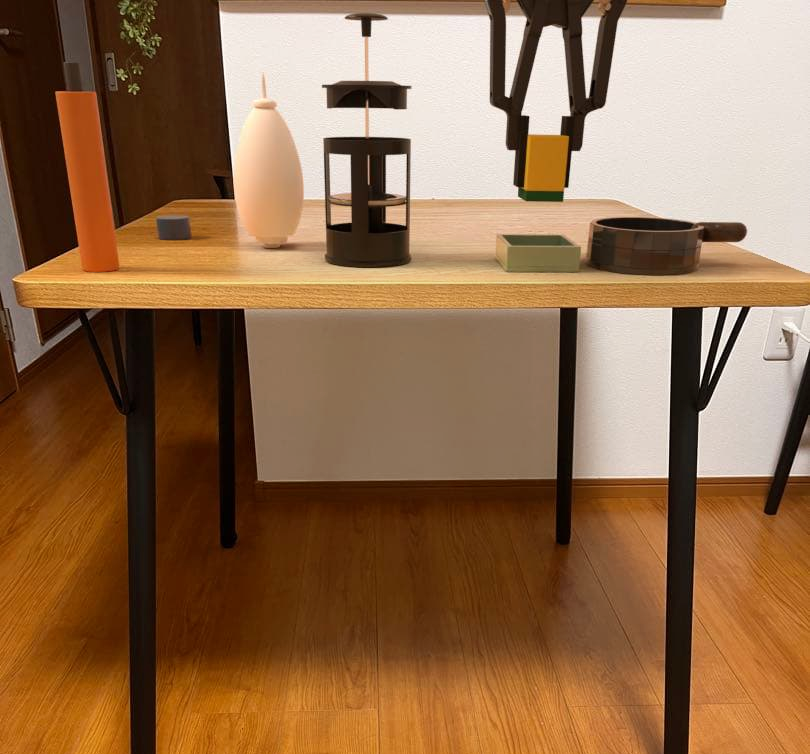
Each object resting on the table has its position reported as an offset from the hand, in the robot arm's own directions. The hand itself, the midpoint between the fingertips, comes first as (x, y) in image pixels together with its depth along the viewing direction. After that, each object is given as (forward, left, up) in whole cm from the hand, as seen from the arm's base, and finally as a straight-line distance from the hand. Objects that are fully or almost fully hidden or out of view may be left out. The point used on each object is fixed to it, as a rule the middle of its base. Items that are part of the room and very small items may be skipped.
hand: (540, 185), depth 90 cm
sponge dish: (0, 0, -8) cm, 8 cm away
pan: (-9, -7, -8) cm, 14 cm away
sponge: (0, 0, -1) cm, 1 cm away
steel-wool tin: (+43, +13, -8) cm, 46 cm away
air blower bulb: (+29, +10, -8) cm, 32 cm away
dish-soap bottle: (+32, +32, -8) cm, 46 cm away
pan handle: (-15, -12, -5) cm, 20 cm away
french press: (+15, +9, -8) cm, 20 cm away
